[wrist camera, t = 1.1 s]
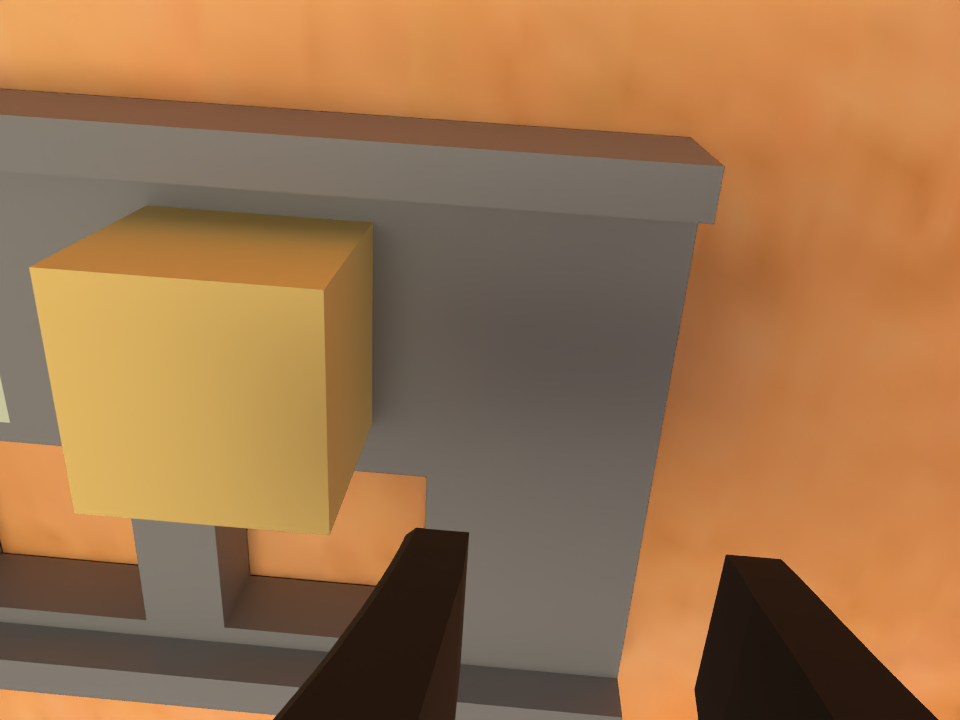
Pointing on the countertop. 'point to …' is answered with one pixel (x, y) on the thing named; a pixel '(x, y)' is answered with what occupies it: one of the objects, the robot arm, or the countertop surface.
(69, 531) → the countertop surface
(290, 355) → the block
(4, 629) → the trap tray
